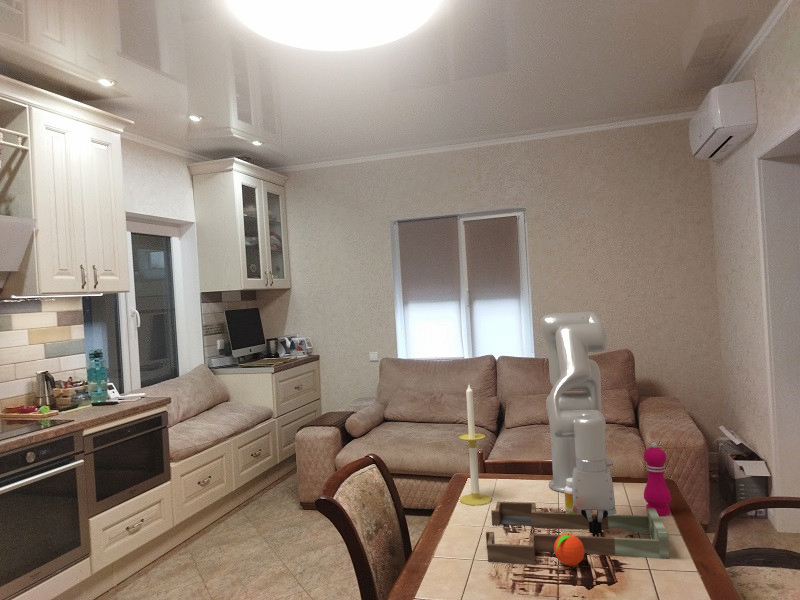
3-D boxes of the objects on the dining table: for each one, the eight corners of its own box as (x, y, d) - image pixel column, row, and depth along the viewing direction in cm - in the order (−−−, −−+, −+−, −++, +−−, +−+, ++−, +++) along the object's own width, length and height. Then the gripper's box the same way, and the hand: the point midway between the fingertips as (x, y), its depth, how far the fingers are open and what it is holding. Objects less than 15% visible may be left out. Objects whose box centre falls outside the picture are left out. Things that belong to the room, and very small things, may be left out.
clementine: (570, 575, 127) (568, 544, 128) (545, 565, 133) (544, 535, 133) (591, 564, 132) (589, 534, 132) (567, 554, 138) (565, 525, 138)
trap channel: (494, 515, 166) (493, 494, 166) (651, 521, 155) (650, 499, 155) (483, 561, 137) (482, 536, 137) (675, 572, 126) (674, 545, 126)
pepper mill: (638, 510, 163) (634, 441, 163) (657, 505, 166) (653, 438, 166) (659, 518, 156) (655, 446, 157) (678, 513, 159) (673, 443, 159)
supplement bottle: (585, 516, 161) (583, 482, 161) (566, 516, 162) (564, 482, 162) (583, 509, 166) (581, 476, 166) (564, 509, 167) (562, 476, 167)
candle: (470, 508, 173) (463, 386, 173) (454, 498, 182) (447, 383, 182) (497, 501, 177) (490, 382, 177) (480, 492, 186) (473, 379, 186)
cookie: (623, 533, 149) (622, 522, 149) (649, 549, 139) (649, 537, 139) (589, 539, 147) (589, 527, 147) (614, 556, 136) (613, 543, 136)
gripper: (620, 460, 146) (624, 531, 146) (560, 460, 150) (565, 528, 150) (624, 469, 139) (628, 543, 139) (561, 468, 143) (565, 540, 143)
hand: (595, 535), depth 144 cm, fingers closed
